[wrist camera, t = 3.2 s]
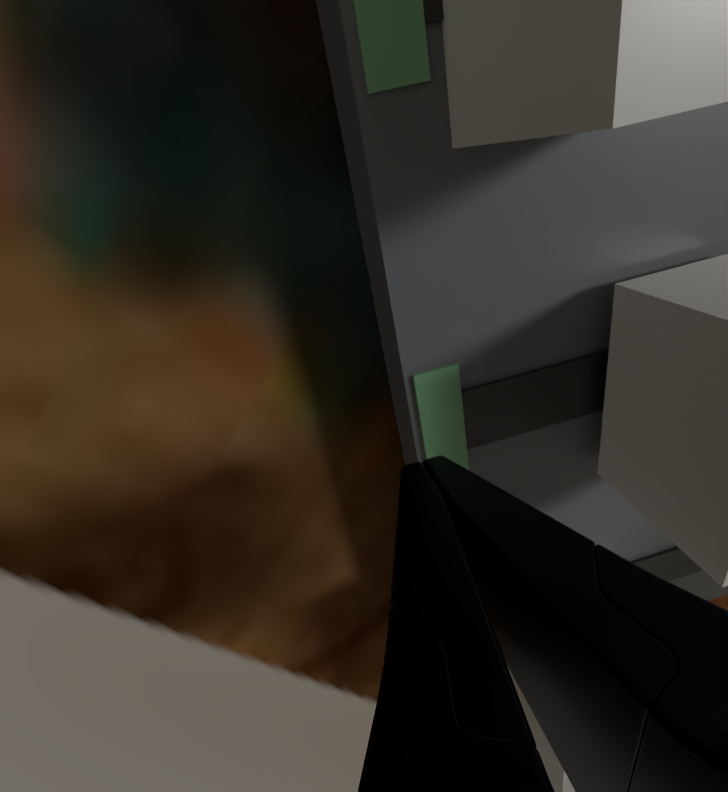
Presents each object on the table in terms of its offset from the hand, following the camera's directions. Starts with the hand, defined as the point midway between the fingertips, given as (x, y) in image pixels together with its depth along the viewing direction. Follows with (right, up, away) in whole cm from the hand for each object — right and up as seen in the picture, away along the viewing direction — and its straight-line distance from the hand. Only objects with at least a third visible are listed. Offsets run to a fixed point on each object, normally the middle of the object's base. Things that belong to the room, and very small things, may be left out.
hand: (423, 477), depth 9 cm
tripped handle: (+6, +2, +1) cm, 6 cm away
